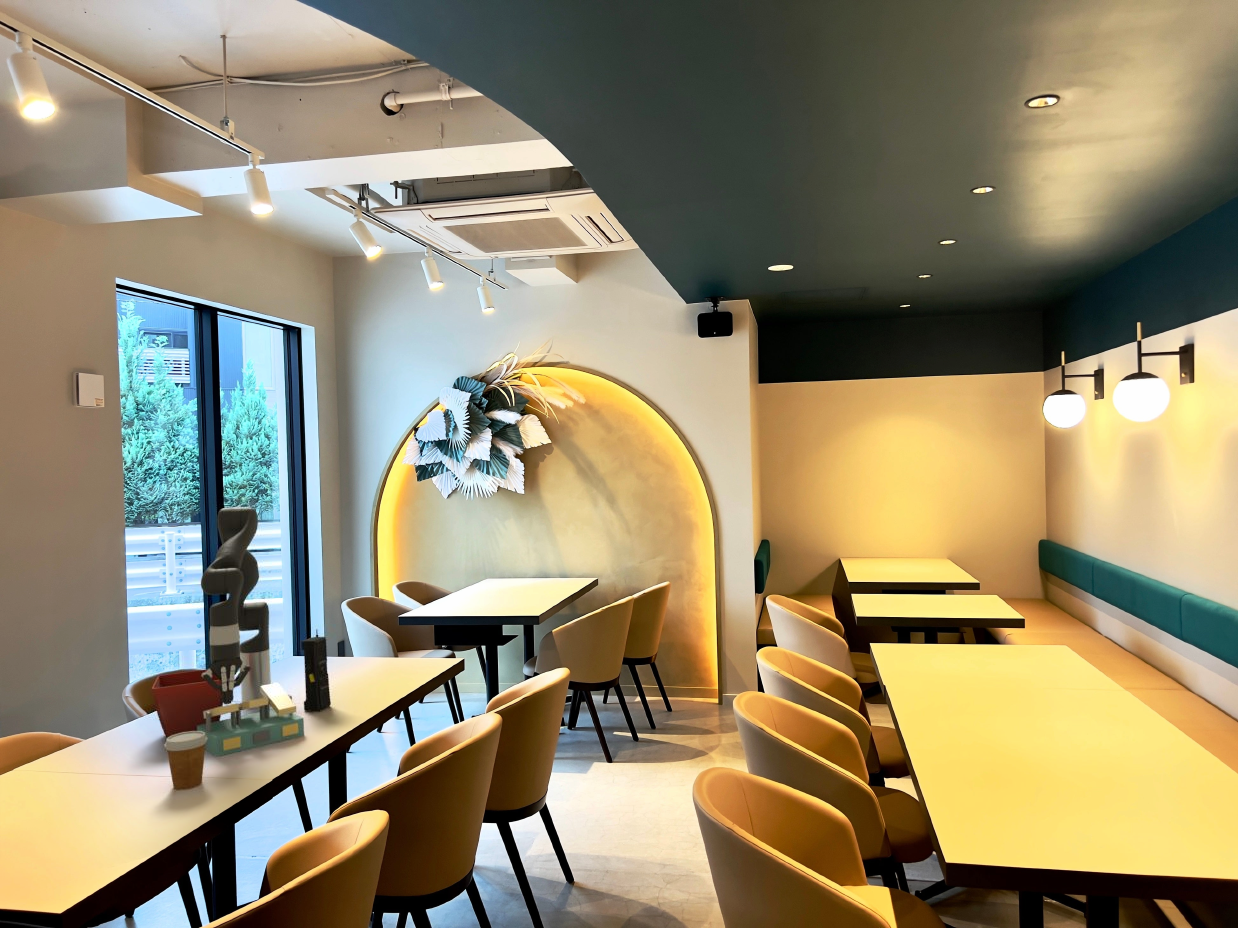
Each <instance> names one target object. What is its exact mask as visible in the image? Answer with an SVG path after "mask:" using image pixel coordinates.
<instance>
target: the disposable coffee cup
mask: <svg viewBox="0 0 1238 928" xmlns="http://www.w3.org/2000/svg"><path fill="white" fill-rule="evenodd" d="M207 739H208V738H207V737H206V734H205V732H202V731H189V732H183V733H178V734H175V735H172V736H170V737H168V738H166V740H165V743H164V745H163V746H164V747H165V749H166V754H167V758H168V759H167V760H168V764H169V769H170V775H171V781H172V787H173V789H174V790H179V789H182V790H188V789H193V788H196V787H198V786H200V785H202V783H203V774H204V763H205V754H206V753H205V752H206V749H205V744H206V741H207ZM195 786H196V787H195Z"/></svg>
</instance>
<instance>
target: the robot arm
mask: <svg viewBox="0 0 1238 928" xmlns="http://www.w3.org/2000/svg"><path fill="white" fill-rule="evenodd" d="M216 521H217V529H218V534H219V538H220V541H221V544H222V545H221V546H220V547H219V548H218V550H217V553H216V556H215V560H214V561H213V562H212V563H211V564H210V565H209V566H208V567H207V568H206V569H205V571H204V572H203V574H202V576H201V578H200V579H201V580H200V586H201V590H202V592H203V593H205V594H206V595H210V596H216V595H217V596H218V595H228V598H227V599H226V600H225V601H221V602H216V603H214V604H212V605H210V608H209V627H210V628H209V653H210V654H209V657H210V662H209V665H208V668H207V669H208V670H207V671H206V672H205V673H202V674H201V677H202V678H203V679H204V680H205V681H206V682H207V683H208V684H209V685H210V686H212V687H213V688H214V689H216V690H220V691H221V701H222V702H223V705H224V706H226V705H231V704H232V702H233V701H234V689H235V688H237V687H239V686H240V687H241V689H240V690H241V703H243V702H247V701H251V700H256V699H260V698H264V696H263V695H262V694H261V693H260V687H261V686H263V685H268V684H272V679H271V677H272V676H271V674H272V673H271V658H270V657H271V656H270V655H271V654H270V653H271V652H270V650H271V649H270V629H269V627H270V610H269V609H270V608H269V604H268V603H267V602H265V601H257V602H245V600H247V598H248V597H249V595H250V594H251V592H252V591H253V590H254V589H255V588H256V585H257V584H258V582H259V579H260V572H259V563H258V560H257V559H256V557H255V556H254V555H253V554H252V553H251V552H250V551H249V550H248V547H249V546H250V544H251V542H252V541H253V539H254V537H255V535H256V534H257V530H258V527H259V526H258V525H259V517H258V511H256V509H255V508H253V507H247V506H246V507H245V506H244V507H242V506H239V507H236V506H235V507H224V508H221V509H220V510H219V511H218V514H217V519H216ZM248 631H250V632H251V631H258V633H256V634H255V636H253V637H251V638H248V639H246V640H244V641H242V642H241V640H240V639H241V635H240V632H248ZM238 671H239V672H238ZM211 673H213V674H214V675H215V676H216V677H217V678H218V681H219V685H218V684H217V683H216V682H215V681H214V680H213V679H212V674H211ZM237 673H238V674H237ZM236 675H237V676H236ZM235 676H236V677H235Z"/></svg>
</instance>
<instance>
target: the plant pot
mask: <svg viewBox="0 0 1238 928" xmlns="http://www.w3.org/2000/svg"><path fill="white" fill-rule="evenodd" d="M208 669H209V668H207V669H205V668H204V669H197V670H190V671H183V672H175V673H167V674H161V675H157V678H156V679H155V681H154V683H153V685H152V687H151V692H152V698H153V702H154V707H155V709H156V713H157V716H158V721H159V723H160V726H161V728H162V731H163V734H164V736H165V738H166V739H167V738H168V737H170V736H172V735H175V734H178V733H183V732H189V731H197V726H198V725H202V724H206V718H204V714H203V711H206V710H210V709H214V708H217V707H222V706H224V703H223V702H222V701H221V691H220V690H216V689H214V688H213V687H212V686H210V685H209V684H208V683H207V682H206V681H205V680H204V679H203V678H202V677H201V674H202V673H205V672H206V671H207V670H208ZM211 674H212V679H213V680H214V681H215V682H216V683H217V684H218V685H219V681H218V678H217V677H216V676H215V675H214V674H213V673H211ZM221 718H222V715H218V716H213V717H211V723H212V722H216V721H221Z"/></svg>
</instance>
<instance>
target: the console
mask: <svg viewBox="0 0 1238 928" xmlns="http://www.w3.org/2000/svg"><path fill="white" fill-rule="evenodd" d="M287 695H288V696H289V697H290V699H291V700H292V701H293V697H292V696H293V695H290V694H287ZM238 708H239V711H235V712H231V713H230V718H226V719H220V721H216V722H212V723H211V713H210V712H206V724H202V725H198V726H197V731H202V732H205V734H206V737H207V738H208V739H207V741H206V744H205V750H207V751H209V752H210V753H211V754H212V753H213V754H212V755H214V756H215V755H216V756H215V757H220V756H219V755H221V756H224V754H225V755H228V754H227V753H229V754H233V753H237V752H240V750H241V751H246V750H249V748H250V749H253V747H254V748H257V746H258V747H261V746H266V745H269V743H270V744H274V743H278V742H277V741H279V742H282V741H281V740H283V741H286V740H285V739H287V740H290V738H291V739H294V738H299V737H303V736H305V725H304V723H305V721H304V717H302V716H300V715H298V714H296V713H290V714H286V715H281V716H278V715H277V713H276V712H275V711H274V709H273V708H272V709H270V704H269V701H268V704H267V705H263V706H259V708H258V709H259V711H258V712H253V713H249V714H245V715H244V714H243V715H242V711H241V707H240V706H238ZM273 742H274V743H273ZM245 749H246V750H245Z"/></svg>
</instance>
